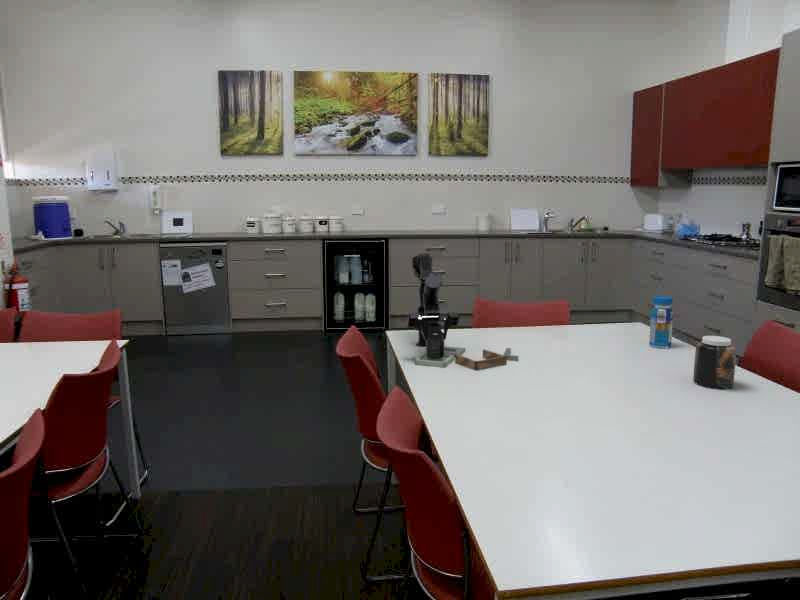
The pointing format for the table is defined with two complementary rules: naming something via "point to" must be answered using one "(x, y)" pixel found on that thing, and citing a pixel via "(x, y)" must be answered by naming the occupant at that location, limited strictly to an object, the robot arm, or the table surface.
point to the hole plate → (454, 350)
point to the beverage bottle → (661, 322)
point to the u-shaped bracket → (490, 360)
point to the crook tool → (510, 357)
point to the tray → (434, 360)
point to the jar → (715, 362)
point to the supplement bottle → (435, 342)
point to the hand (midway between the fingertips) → (435, 339)
